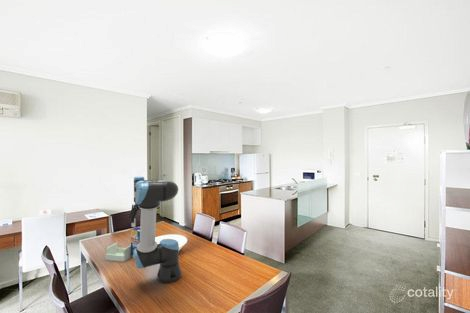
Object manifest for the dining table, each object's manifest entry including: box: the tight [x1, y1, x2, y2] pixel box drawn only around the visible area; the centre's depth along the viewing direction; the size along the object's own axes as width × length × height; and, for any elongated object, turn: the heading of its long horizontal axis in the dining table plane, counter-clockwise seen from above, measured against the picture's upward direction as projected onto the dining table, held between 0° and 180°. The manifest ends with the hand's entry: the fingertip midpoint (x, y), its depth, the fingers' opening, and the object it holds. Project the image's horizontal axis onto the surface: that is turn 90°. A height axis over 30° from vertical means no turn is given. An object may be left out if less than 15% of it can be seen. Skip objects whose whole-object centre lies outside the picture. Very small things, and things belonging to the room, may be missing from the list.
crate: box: [104, 241, 132, 263], centre depth 164 cm, size 16×13×9 cm
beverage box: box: [130, 226, 140, 260], centre depth 164 cm, size 7×11×22 cm, turn 62°
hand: (139, 223), depth 164 cm, fingers open, 13 cm apart
